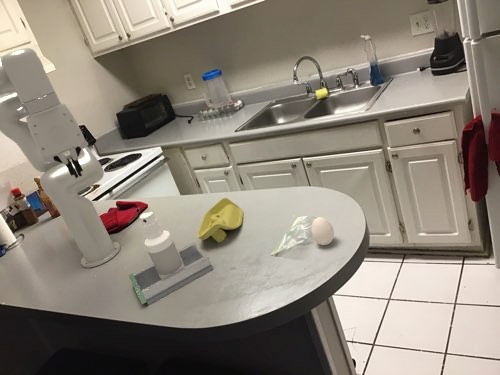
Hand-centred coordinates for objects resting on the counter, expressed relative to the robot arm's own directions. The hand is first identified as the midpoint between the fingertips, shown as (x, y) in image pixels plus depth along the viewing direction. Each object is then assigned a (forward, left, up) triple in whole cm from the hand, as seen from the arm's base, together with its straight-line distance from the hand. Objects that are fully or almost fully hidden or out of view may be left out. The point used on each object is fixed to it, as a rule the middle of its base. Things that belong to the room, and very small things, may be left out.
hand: (78, 175), depth 106 cm
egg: (+31, +44, -32) cm, 63 cm away
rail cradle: (+10, +10, -32) cm, 35 cm away
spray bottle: (+10, +10, -31) cm, 34 cm away
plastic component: (-1, +29, -32) cm, 43 cm away
